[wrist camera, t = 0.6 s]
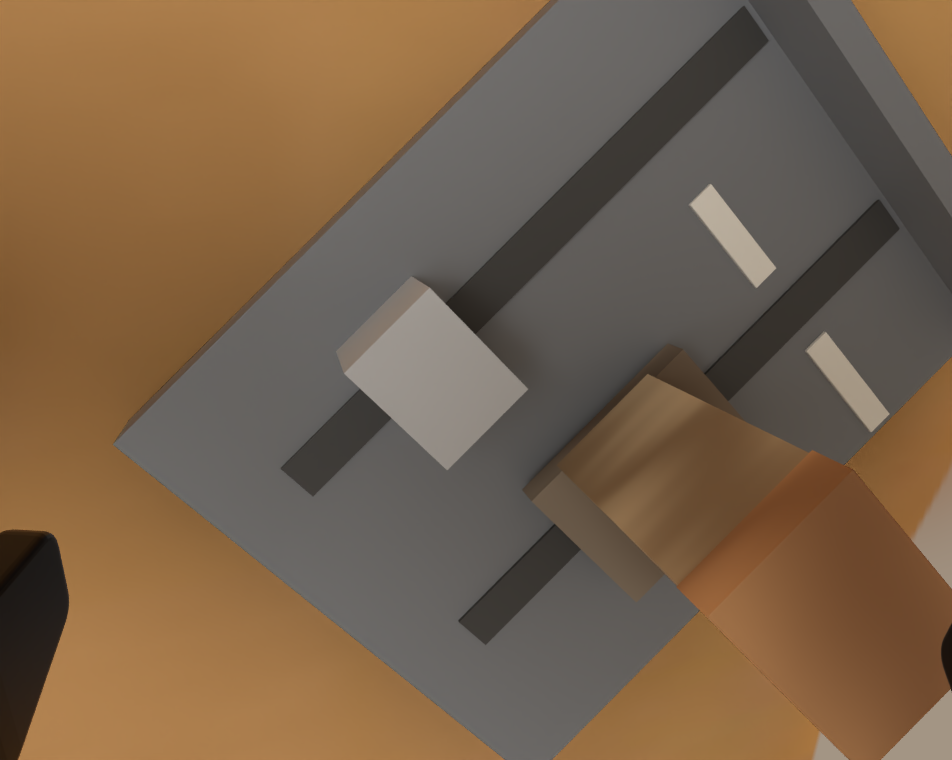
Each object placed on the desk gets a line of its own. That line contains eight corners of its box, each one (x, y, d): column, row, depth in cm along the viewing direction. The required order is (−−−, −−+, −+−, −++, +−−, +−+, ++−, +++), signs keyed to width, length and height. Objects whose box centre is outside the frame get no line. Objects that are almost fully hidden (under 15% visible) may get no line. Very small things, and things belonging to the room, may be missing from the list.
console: (511, 734, 24) (559, 847, 20) (128, 420, 20) (88, 481, 16) (941, 300, 24) (1078, 323, 20) (656, -106, 20) (756, -185, 16)
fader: (629, 594, 21) (824, 816, 14) (515, 483, 20) (662, 663, 12) (766, 456, 21) (1036, 602, 14) (661, 336, 20) (897, 424, 12)
